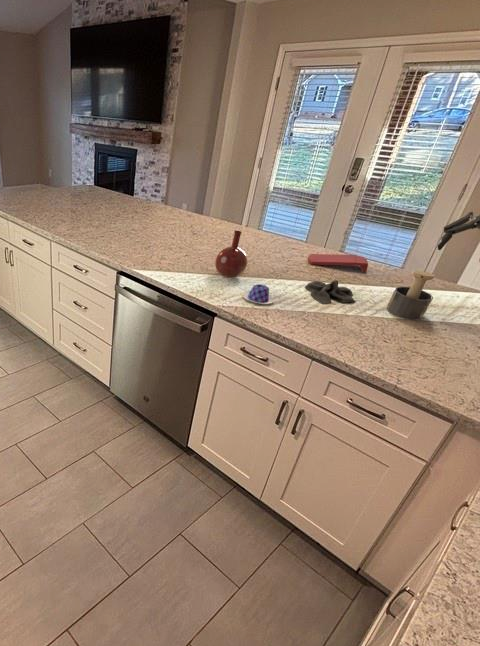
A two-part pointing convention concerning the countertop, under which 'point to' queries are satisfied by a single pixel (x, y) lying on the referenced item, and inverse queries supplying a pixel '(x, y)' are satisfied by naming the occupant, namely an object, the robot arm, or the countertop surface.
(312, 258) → the red bent slab
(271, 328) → the countertop surface
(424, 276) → the handle
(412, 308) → the canister
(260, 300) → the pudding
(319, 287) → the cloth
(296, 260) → the countertop surface
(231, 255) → the round-bottom flask
